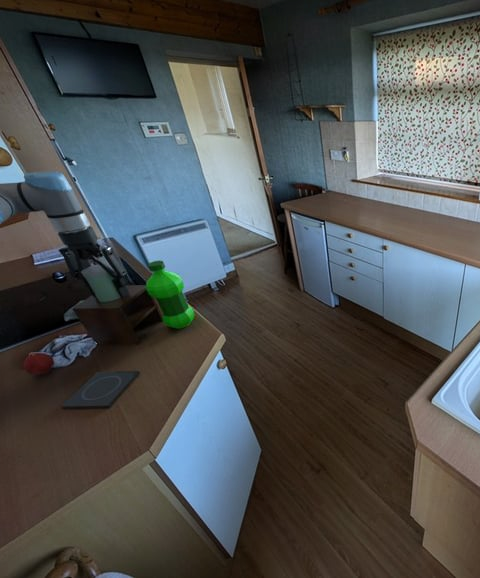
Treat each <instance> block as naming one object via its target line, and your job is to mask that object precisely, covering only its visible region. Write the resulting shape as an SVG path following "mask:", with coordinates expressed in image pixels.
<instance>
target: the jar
mask: <svg viewBox="0 0 480 578" xmlns="http://www.w3.org/2000/svg"><path fill="white" fill-rule="evenodd" d="M81 273H82V275H83V276H84V277H85V278H86V280H87V282H88V283H89V285H90V287H91V288H92V290H93V292H94V293H95V295H96V297H97V298H98V300H99V301H101V302H108V301H113V300H116V299H119V298H121V297H120V295H119V293H118V291H117V289H116V287H115V286H114V284H113V282H112V280H113V279H114V278H112V277H111V276H110V275H109V274H108V273H107V272H106V270H104V269H103V268H102V267H101V266H100V265H99V264H98V263H97V264H93V265H89V267H88V268H86V269H84V270H82V271H81Z"/></svg>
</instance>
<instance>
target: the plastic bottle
mask: <svg viewBox="0 0 480 578" xmlns="http://www.w3.org/2000/svg"><path fill="white" fill-rule="evenodd" d="M147 267H148V269H149V271H150V272H152V275H151V276H149V278H148V280H147V281H146V283H145V285H146V288H147V292H148V294H149V295H150V296H151V297H154V299H155V300H156V303H157V305H158V307H159V309H160V311H161V314H162V318H163V321H162V322H163V324H164V325H165V326H166V327H169V328H173V329H179V330H180V329H184V328H186V327H188V326H189V325H190V324H191V322H192V321H193V320H194V319H195V311H194V310H193V307H192V306H190V305H189V304H188V302H187V300H186V297H185V295H184V292H183V290H184V289H185V284H184V282H183V278H182V277H181V276H180V275H179V274H177V273H175V272H171V271H168V270H165V268H166V265H165V263H164V261H163V260H154V261H151V262H149V263H148V264H147Z"/></svg>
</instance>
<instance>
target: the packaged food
mask: <svg viewBox="0 0 480 578" xmlns="http://www.w3.org/2000/svg"><path fill="white" fill-rule="evenodd" d="M84 300H85V299H83V300H80V301H78V303H76V304H75V305H74V306H72V307H71V308H69V309H68V310H67V311H66V312H65V313H64V314H63V319H64V321H65V322H69V321H71V320H79V318H78V317H77V315H76V314H75V312H74V311H73V309H72V308H74V307H75V306H77V305H78V304H80V303H81V302H83V301H84Z"/></svg>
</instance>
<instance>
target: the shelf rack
mask: <svg viewBox="0 0 480 578" xmlns="http://www.w3.org/2000/svg"><path fill="white" fill-rule="evenodd" d="M126 288H127V290H128V292H129V294H127V295H126V296H125V297H123V298H119V299H116V300H113V301H108V302H101V301H99V300H98V298H94V297H93V295H92V294H91V295H90V296H88V297H87V298H85V299H83V300H84V301H83V300H82V301H83V302H81V303H80V304H78V303H77V304H78V305H77V306H75V305H74V306H75V307H74V306H73V307H74V308H72V307H71V308H72V309H73V311H74V312H75V314H76V315H77V317H78V318H79V319H78V320H79V321H80V324H81V325H82V326H83V327H84V329H85V331H86V333H88V335H89V336H90V338H91V340H92V341H93V342H94V341H95V342H96V343H97V344H98V345H97V346H119V345H125V346H127V345H140V344H141V343H142V341H141V340H140V338H139V337H138V335H137V333H136V331H135V328H136V327H137V326H138V325H139V324H140V323H141V322H163V318H162V314H163V313H162V311H161V308H160V306H159V304H158V302H157V300H156V298H154V297H151V296H150V295H149V294H148V292H147V288H146V284H142V285H141V284H140V285H139V284H138V285H137V284H135V285H133V284H132V285H131V284H129V285H127V284H126ZM95 342H94V343H95Z"/></svg>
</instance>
